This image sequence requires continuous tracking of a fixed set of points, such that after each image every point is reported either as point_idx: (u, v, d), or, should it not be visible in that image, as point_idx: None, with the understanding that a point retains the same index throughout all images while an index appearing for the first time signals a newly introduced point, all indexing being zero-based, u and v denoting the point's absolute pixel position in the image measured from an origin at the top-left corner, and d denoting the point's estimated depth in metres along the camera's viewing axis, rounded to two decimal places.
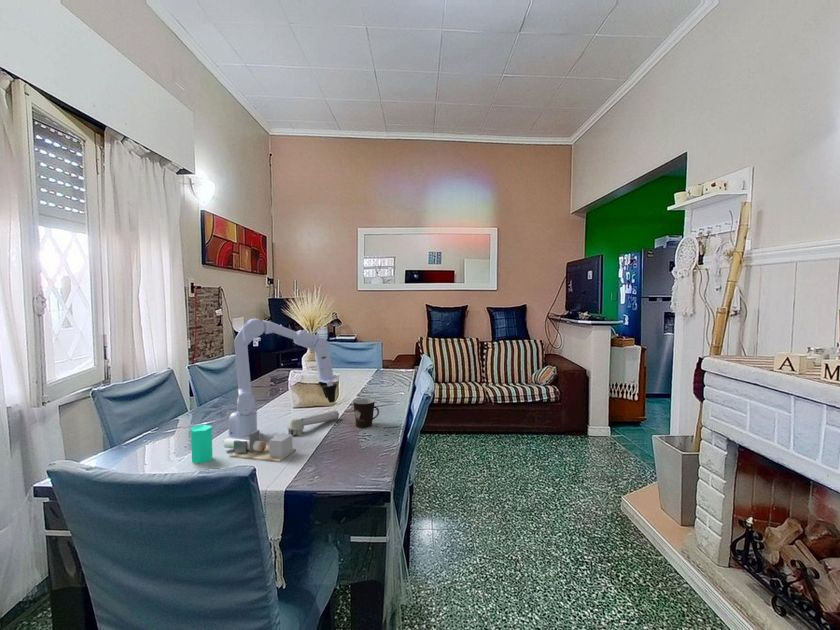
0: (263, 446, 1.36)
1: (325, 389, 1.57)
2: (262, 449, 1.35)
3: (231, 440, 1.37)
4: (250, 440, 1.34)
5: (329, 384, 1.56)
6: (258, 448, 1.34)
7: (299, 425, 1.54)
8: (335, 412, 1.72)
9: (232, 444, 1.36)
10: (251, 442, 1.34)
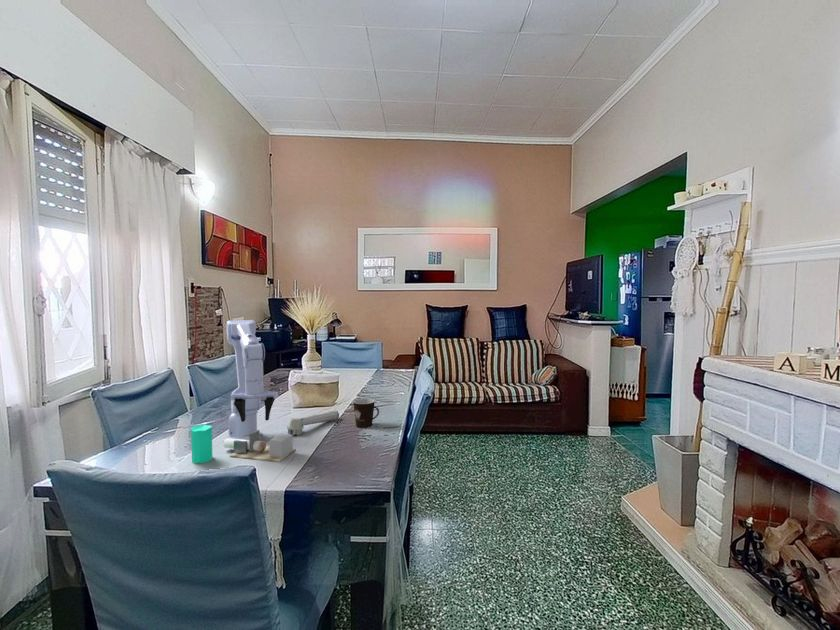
0: (263, 446, 1.36)
1: None
2: (262, 449, 1.35)
3: (231, 440, 1.37)
4: (250, 440, 1.34)
5: None
6: (258, 448, 1.34)
7: (299, 425, 1.54)
8: (335, 412, 1.72)
9: (232, 444, 1.36)
10: (251, 442, 1.34)
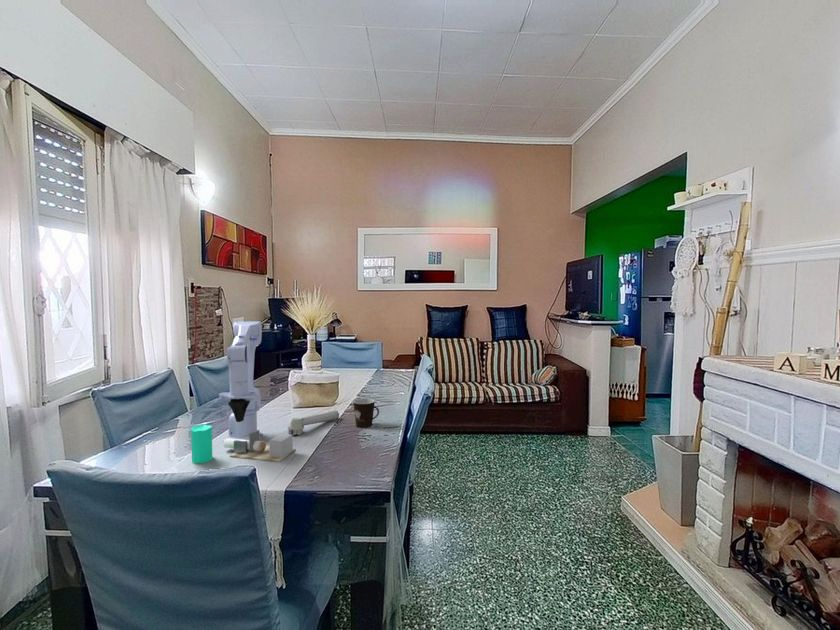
0: (263, 446, 1.36)
1: None
2: (262, 449, 1.35)
3: (231, 440, 1.37)
4: (250, 440, 1.34)
5: None
6: (258, 448, 1.34)
7: (299, 425, 1.54)
8: (335, 412, 1.72)
9: (232, 444, 1.36)
10: (251, 442, 1.34)
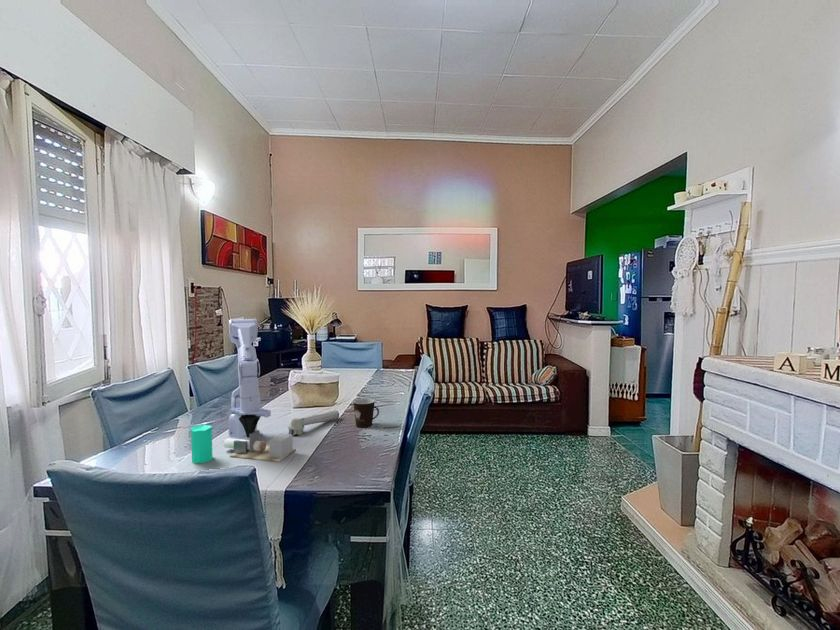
0: (263, 446, 1.36)
1: None
2: (262, 449, 1.35)
3: (231, 440, 1.37)
4: (250, 440, 1.34)
5: None
6: (258, 448, 1.34)
7: (299, 425, 1.54)
8: (335, 412, 1.72)
9: (232, 444, 1.36)
10: (251, 442, 1.34)
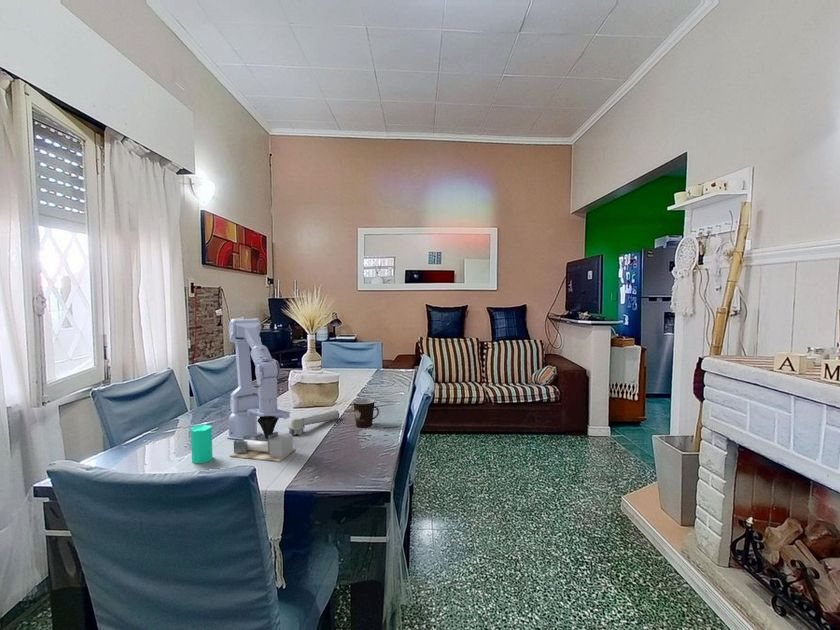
0: None
1: None
2: None
3: (249, 442, 1.36)
4: None
5: None
6: None
7: (300, 425, 1.54)
8: (336, 412, 1.72)
9: (250, 446, 1.35)
10: None
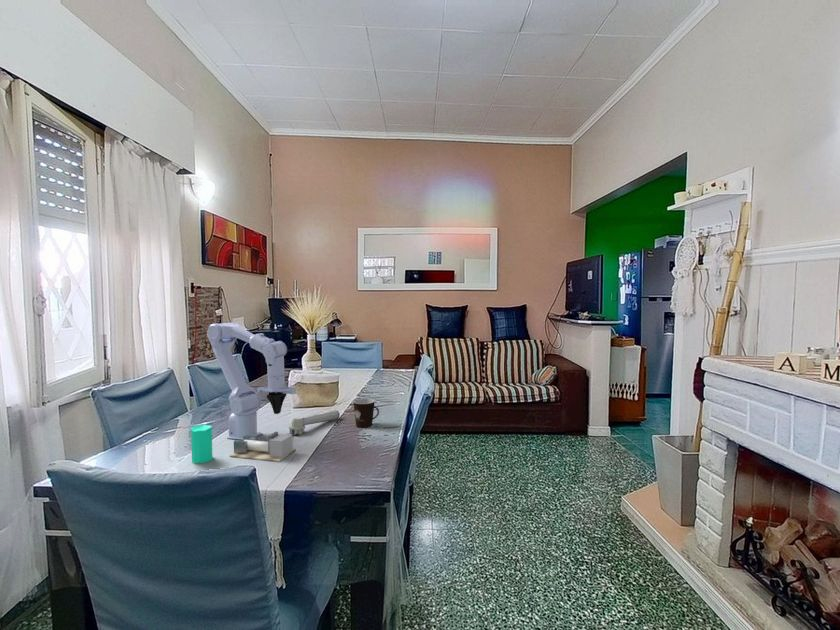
0: None
1: None
2: None
3: (249, 442, 1.36)
4: None
5: None
6: None
7: (300, 425, 1.54)
8: (336, 412, 1.72)
9: (250, 446, 1.35)
10: None
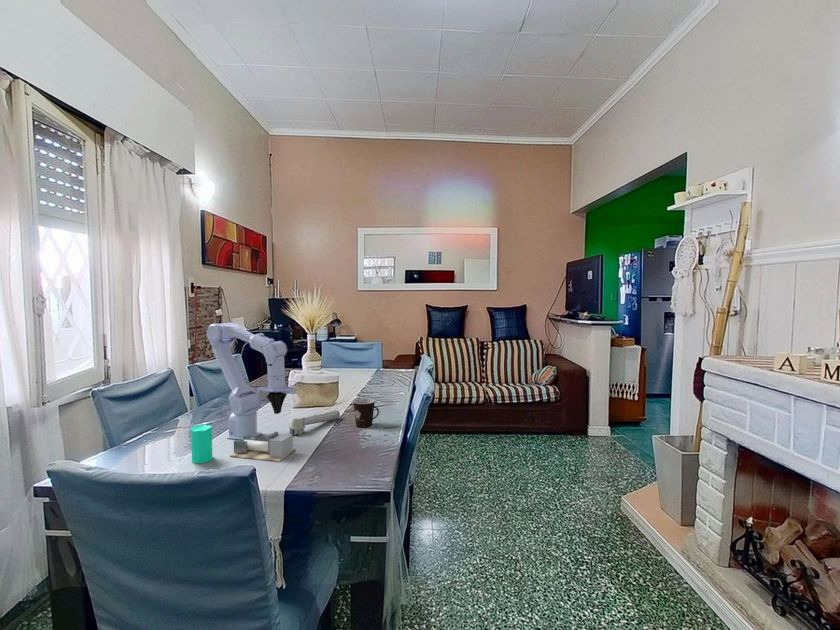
0: None
1: None
2: None
3: (249, 442, 1.36)
4: None
5: None
6: None
7: (300, 424, 1.54)
8: (336, 412, 1.73)
9: (250, 446, 1.35)
10: None
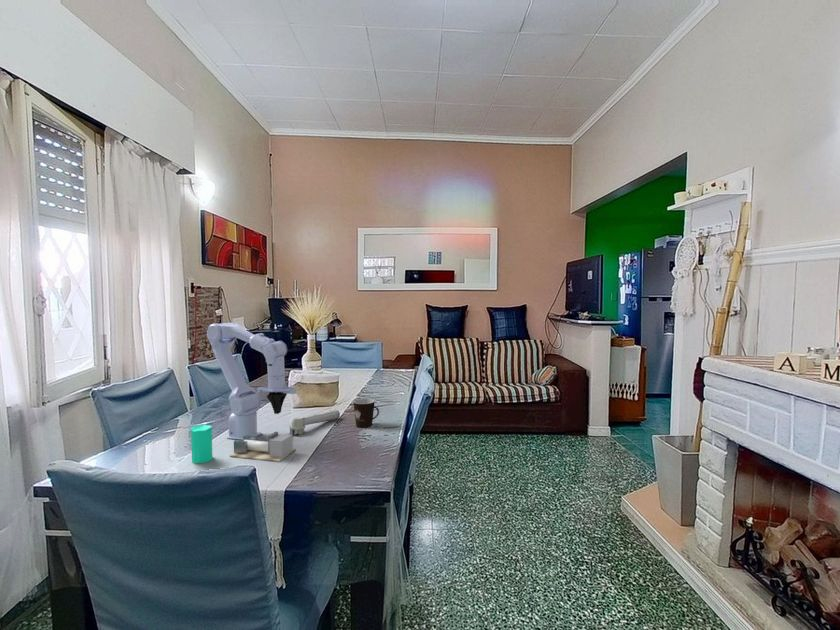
0: None
1: None
2: None
3: (249, 442, 1.36)
4: None
5: None
6: None
7: (300, 424, 1.54)
8: (336, 412, 1.73)
9: (250, 446, 1.35)
10: None
